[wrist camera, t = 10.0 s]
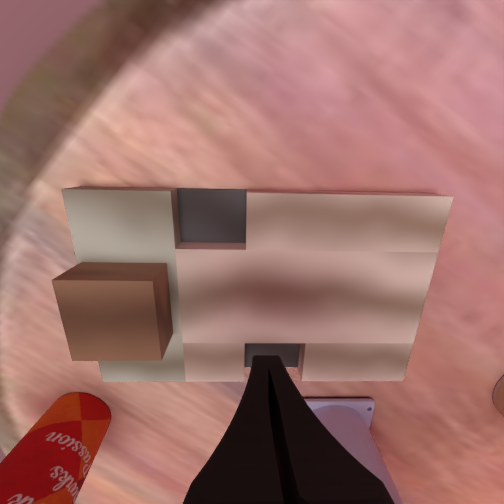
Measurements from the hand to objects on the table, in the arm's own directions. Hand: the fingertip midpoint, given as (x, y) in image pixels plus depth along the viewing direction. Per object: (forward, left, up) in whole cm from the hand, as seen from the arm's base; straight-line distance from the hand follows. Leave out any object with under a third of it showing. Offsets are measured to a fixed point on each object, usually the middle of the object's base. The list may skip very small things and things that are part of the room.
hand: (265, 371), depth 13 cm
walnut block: (0, +10, -7) cm, 12 cm away
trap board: (0, 0, -9) cm, 9 cm away
